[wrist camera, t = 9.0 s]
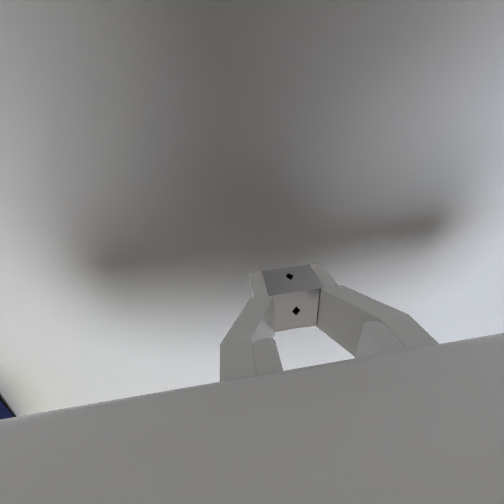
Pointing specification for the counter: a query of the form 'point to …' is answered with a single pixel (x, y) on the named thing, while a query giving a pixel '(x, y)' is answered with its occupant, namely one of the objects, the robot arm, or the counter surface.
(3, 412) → the supplement box
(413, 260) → the counter surface
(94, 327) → the counter surface
